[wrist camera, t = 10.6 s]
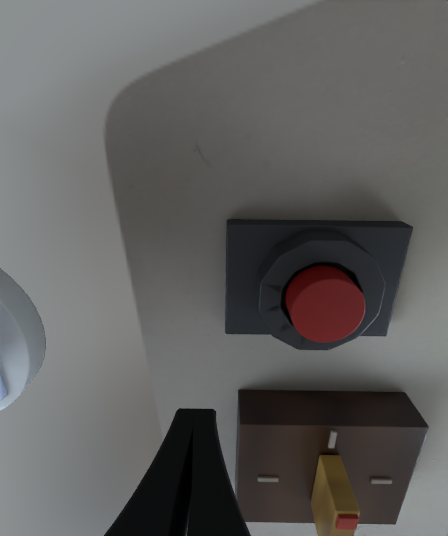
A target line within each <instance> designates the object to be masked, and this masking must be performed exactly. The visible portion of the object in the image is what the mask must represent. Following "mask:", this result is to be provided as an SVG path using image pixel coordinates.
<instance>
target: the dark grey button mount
mask: <svg viewBox="0 0 448 536" xmlns="http://www.w3.org/2000/svg"><path fill="white" fill-rule="evenodd" d="M412 229H413V227H412V226H410V225H408V224H406V223H404V222H402V221H323V220H243V219H228V220H227V239H226V311H225V333H226V334H266V335H272V336H273V337H275V338H277V339H279V340H281V341H283V342H285V343H287V344H288V345H290V346H292V347H294V348H296V349H299V350H329V349H332V348H335V347H337V346H339V345H342V344H344V343H346V342H349V341H351V340H353V339H356V338H357V337H359V336H386V335H387V332H388V328H389V324H390V320H391V315H392V311H393V307H394V303H395V299H396V295H397V291H398V287H399V283H400V279H401V274H402V270H403V266H404V262H405V258H406V254H407V250H408V246H409V242H410V238H411V233H412ZM319 265H327V266H333V267H336V268H338V269H340V270H342V271H343V272H344V273H345V274H346V275H347V276H348V277H349V278H350V279H351V280H352V281H353V283H354V284H355V285H356V286H357V287H358V288H359V290H360V291H361V292H362V294H363V296H364V299H365V314H364V317H363V319H362V321H361V323H360V325H359V326H358V327H357V328H356V329H355V330H354V331H353V332H352V333H351V334H350V335H348V336H346V337H345V338H342V339H340V340H337V341H333V342H324V343H323V342H315V341H312V340H309V339H307V338H305V337H304V336H302V335H301V334H300V333H299V332H298V331H297V330H296V329H295V327H294V325H293V323H292V320H291V317H290V314H289V311H288V308H287V305H286V292H287V288H288V286H289V284H290V283H291V281H292V280H293V279H294V277H295V276H297V275H298V274H299V273H300V272H302V271H303V270H305V269H307V268H310V267H313V266H319Z"/></svg>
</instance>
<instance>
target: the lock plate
mask: <svg viewBox="0 0 448 536" xmlns="http://www.w3.org/2000/svg"><path fill="white" fill-rule="evenodd" d="M428 430H429V426H428V425H427V423H426V422H425V420H424V419H423V417H422V416H421V415H420V413H419V412H418V410H417V409H416V407H415V406H414V404H413V403H412V402H411V400H410V399H409V397H408V396H407V394H406V393H405V392H340V391H274V390H238V413H237V441H236V470H235V497H236V500H237V502H238V505H239V508H240V510H241V513H242V515H243V518H244V520H245V522H284V523H315V521H314V517H313V512H312V508H311V498H312V492H313V487H314V482H315V477H316V472H317V466H318V461H319V456H320V455H340V457H341V459H342V462H343V465H344V468H345V471H346V474H347V476H348V479H349V482H350V485H351V488H352V491H353V493H354V496H355V499H356V502H357V505H358V508H359V510H360V514H359V517H358V518H359V521H358V524H396V521H397V518H398V515H399V512H400V510H401V507H402V504H403V501H404V498H405V495H406V492H407V490H408V487H409V484H410V481H411V478H412V475H413V473H414V470H415V467H416V464H417V461H418V458H419V455H420V453H421V450H422V447H423V444H424V441H425V438H426V435H427V433H428Z"/></svg>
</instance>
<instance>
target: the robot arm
mask: <svg viewBox="0 0 448 536" xmlns="http://www.w3.org/2000/svg"><path fill="white" fill-rule="evenodd" d="M6 395H7V391H6V388H5V385H4V382H3V379H2V376H1V373H0V401H2V400H3V399H4V398H5V397H6ZM187 527H188V529H187ZM186 533H187V536H251V535H250V533H249V530H248V528H247V525H246V523H245V520H244V518H243V515H242V513H241V510H240V508H239V505H238V502H237V500H236V497H235V494H234V491H233V488H232V485H231V482H230V479H229V476H228V472H227V469H226V465H225V462H224V458H223V454H222V451H221V446H220V442H219V437H218V431H217V423H216V411H215V410H214V409H183V408H179V409H178V410H177V411H176V413H175V416H174V419H173V421H172V424H171V426H170V428H169V430H168V433H167V435H166V437H165V439H164V441H163V443H162V445H161V447H160V449H159V451H158V453H157V455H156V456H155V458H154V460H153V462H152V464H151V465H150V467H149V469H148V470H147V472H146V474H145V475H144V477H143V479H142V480H141V482H140V484H139V485H138V487H137V489H136V490H135V492H134V493H133V495H132V497H131V498H130V500H129V501H128V503H127V504H126V506H125V507H124V509H123V510H122V512H121V513H120V514H119V516H118V517H117V519H116V520H115V522H114V523H113V524H112V526H111V527H110V528H109V530H108V531H107V532H106V534H105V535H104V536H186Z"/></svg>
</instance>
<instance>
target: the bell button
mask: <svg viewBox="0 0 448 536" xmlns="http://www.w3.org/2000/svg"><path fill="white" fill-rule="evenodd" d="M286 305H287V308H288V311H289V314H290V317H291V320H292V323H293V325H294V327H295V329H296V330H297V331H298V332H299V333H300V334H301V335H302V336H304V337H305V338H307V339H309V340H312V341H315V342H323V343H324V342H333V341H337V340H340V339H342V338H345V337H346V336H348V335H350V334H351V333H352V332H353V331H354V330H355V329H356V328H357V327H358V326H359V325H360V323H361V321H362V319H363V317H364V314H365V299H364V296H363V294H362V292H361V291H360V290H359V288H358V287H357V286H356V285H355V284H354V283H353V281H352V280H351V279H350V278H349V277H348V276H347V275H346V274H345V273H344V272H343V271H342V270H340V269H338V268H336V267H333V266H327V265H319V266H313V267H310V268H307V269H305V270H303V271H302V272H300V273H299V274H298V275H297V276H295V277H294V279H293V280H292V281H291V283H290V284H289V286H288V288H287V292H286Z"/></svg>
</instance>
